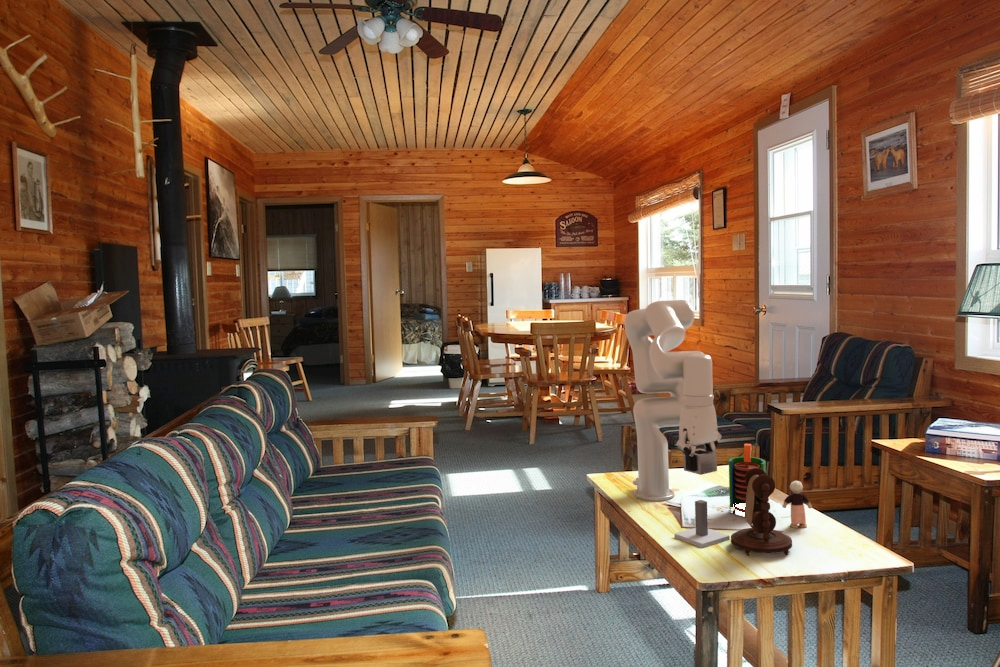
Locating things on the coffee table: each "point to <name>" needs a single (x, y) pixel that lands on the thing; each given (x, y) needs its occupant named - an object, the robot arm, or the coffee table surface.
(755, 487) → the dark brown upright piece
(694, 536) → the shaft block
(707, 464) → the grey square holed block
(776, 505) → the coffee table surface
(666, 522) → the coffee table surface
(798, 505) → the grandmother figurine
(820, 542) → the coffee table surface
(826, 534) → the coffee table surface
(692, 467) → the robot arm
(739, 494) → the motor
